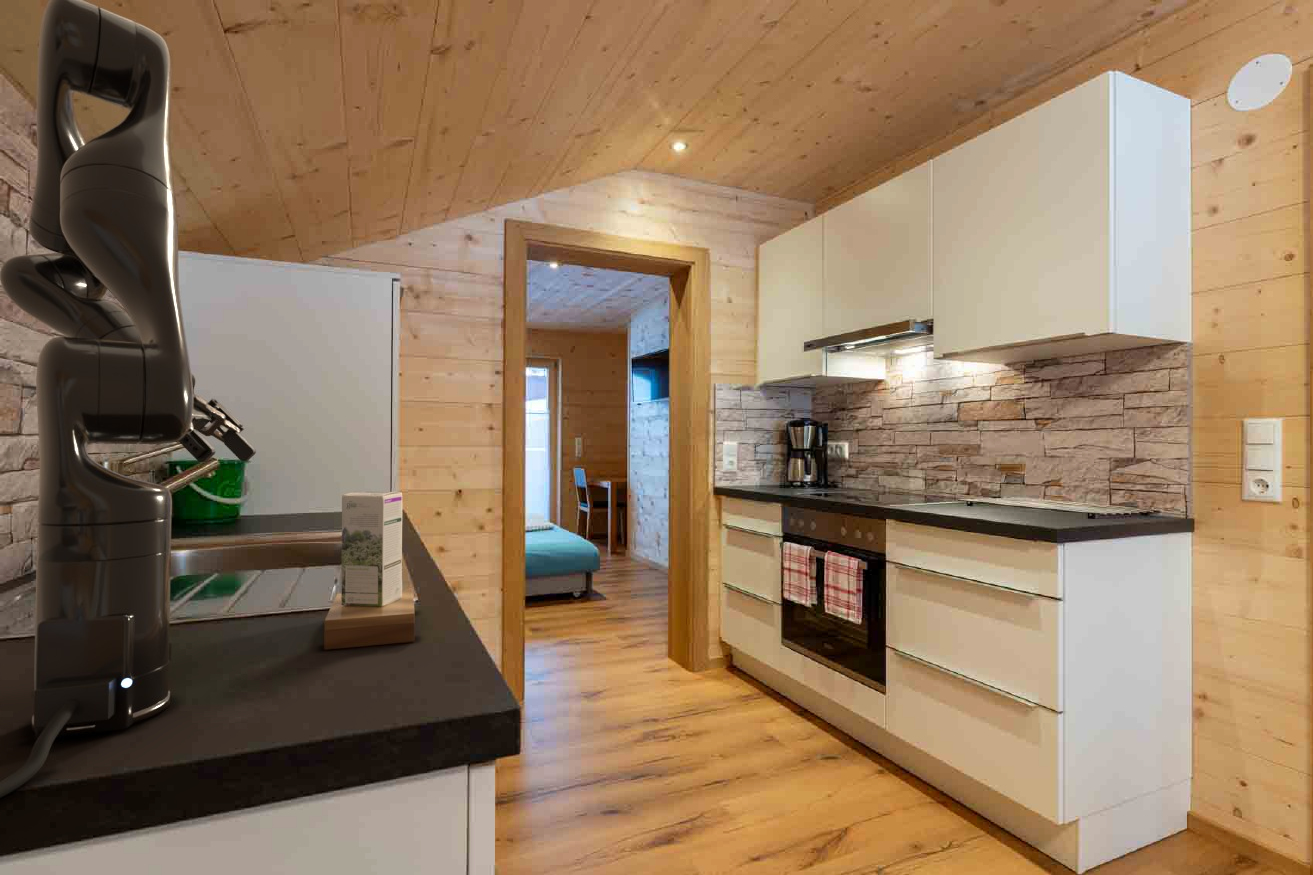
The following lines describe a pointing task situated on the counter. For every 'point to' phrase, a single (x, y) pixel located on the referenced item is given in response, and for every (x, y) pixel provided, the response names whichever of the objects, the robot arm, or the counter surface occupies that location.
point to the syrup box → (371, 548)
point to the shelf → (370, 623)
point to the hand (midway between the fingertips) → (230, 457)
